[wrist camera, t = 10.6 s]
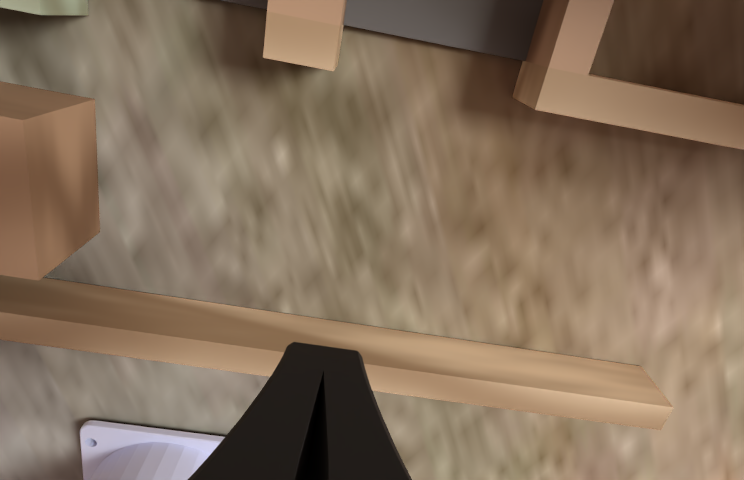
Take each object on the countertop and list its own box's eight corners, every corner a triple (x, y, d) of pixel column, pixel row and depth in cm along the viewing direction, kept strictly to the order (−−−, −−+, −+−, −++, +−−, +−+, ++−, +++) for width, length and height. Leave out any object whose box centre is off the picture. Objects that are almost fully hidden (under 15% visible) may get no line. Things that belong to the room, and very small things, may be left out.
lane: (630, 387, 22) (674, 450, 19) (-111, 280, 19) (-205, 332, 16) (858, -62, 15) (993, -84, 12) (-263, -327, 12) (-484, -448, 9)
